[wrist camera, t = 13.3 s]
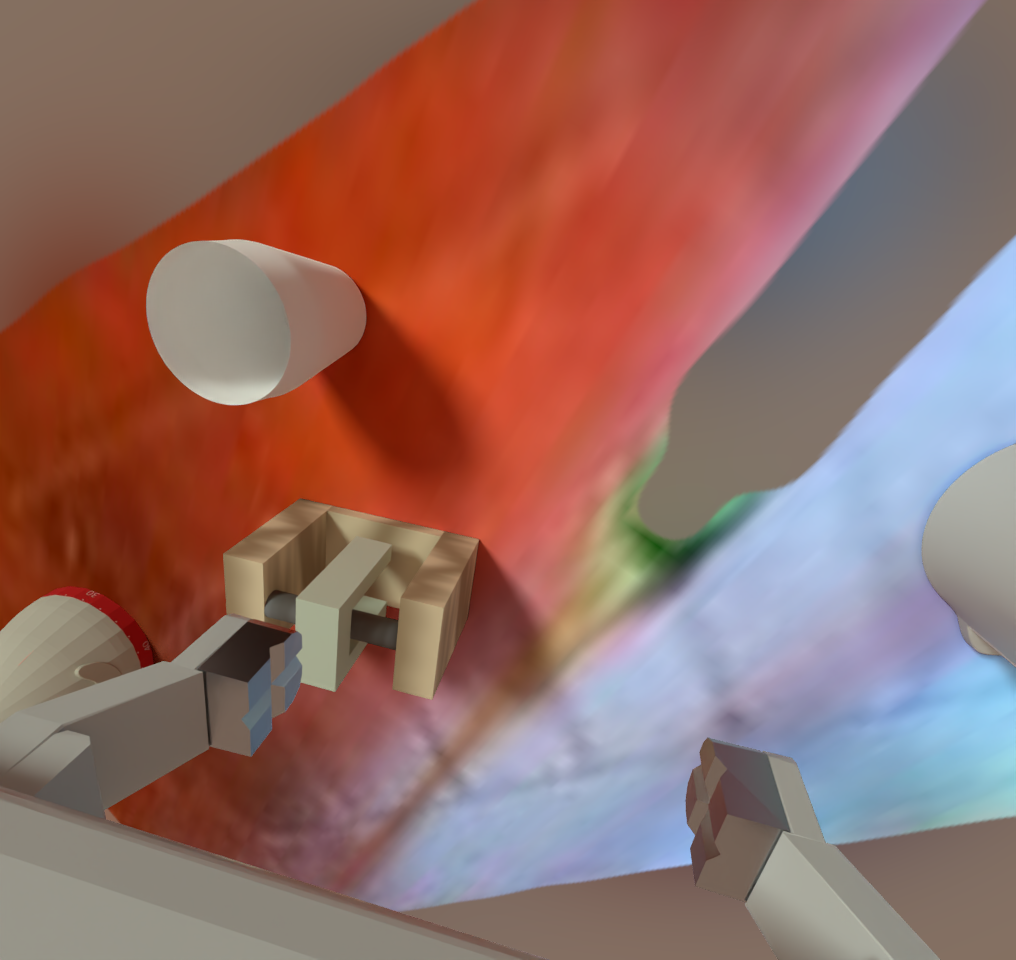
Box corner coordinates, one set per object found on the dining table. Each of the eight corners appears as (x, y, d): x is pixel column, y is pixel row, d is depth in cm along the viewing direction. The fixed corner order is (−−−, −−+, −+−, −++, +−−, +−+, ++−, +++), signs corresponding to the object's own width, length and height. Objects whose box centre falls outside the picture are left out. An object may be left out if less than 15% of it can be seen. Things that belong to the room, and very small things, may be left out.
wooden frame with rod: (479, 539, 45) (443, 608, 36) (467, 618, 48) (432, 699, 39) (300, 498, 47) (223, 553, 38) (299, 576, 50) (228, 645, 41)
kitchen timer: (59, 683, 63) (-99, 800, 49) (22, 579, 58) (-165, 677, 44) (166, 702, 60) (32, 830, 46) (137, 595, 55) (-23, 703, 41)
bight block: (392, 544, 44) (339, 609, 35) (385, 616, 46) (335, 691, 38) (356, 535, 44) (295, 598, 36) (352, 607, 47) (294, 680, 38)
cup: (347, 395, 43) (253, 439, 32) (251, 323, 42) (122, 343, 31) (405, 298, 39) (321, 310, 28) (302, 218, 39) (176, 198, 28)
